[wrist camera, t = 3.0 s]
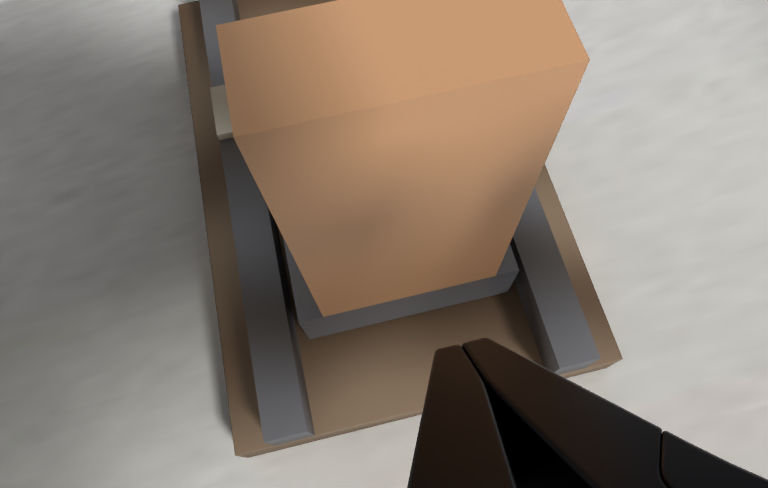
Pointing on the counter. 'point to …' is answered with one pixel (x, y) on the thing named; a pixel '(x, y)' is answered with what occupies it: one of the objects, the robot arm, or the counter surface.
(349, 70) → the fader tab
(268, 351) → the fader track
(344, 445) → the counter surface
